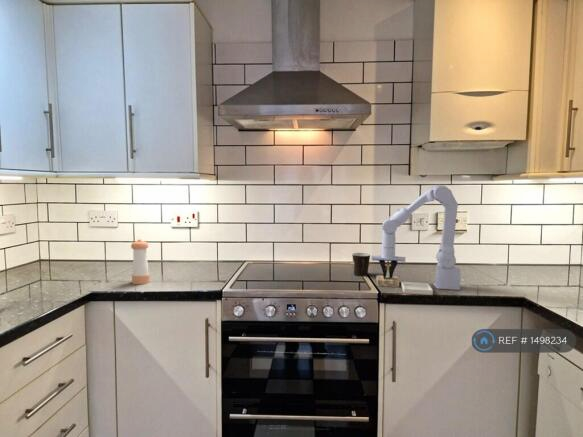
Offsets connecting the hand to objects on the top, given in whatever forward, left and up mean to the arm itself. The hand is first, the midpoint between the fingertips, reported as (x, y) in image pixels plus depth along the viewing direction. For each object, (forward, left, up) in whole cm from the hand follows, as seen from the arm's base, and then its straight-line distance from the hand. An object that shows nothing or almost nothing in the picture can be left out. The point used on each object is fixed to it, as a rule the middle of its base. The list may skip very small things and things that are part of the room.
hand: (387, 277), depth 165 cm
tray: (-11, +9, -3) cm, 14 cm away
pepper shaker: (+108, +20, -3) cm, 110 cm away
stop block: (0, 0, -3) cm, 3 cm away
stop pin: (0, 0, -3) cm, 3 cm away
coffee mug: (+12, -13, -3) cm, 18 cm away
